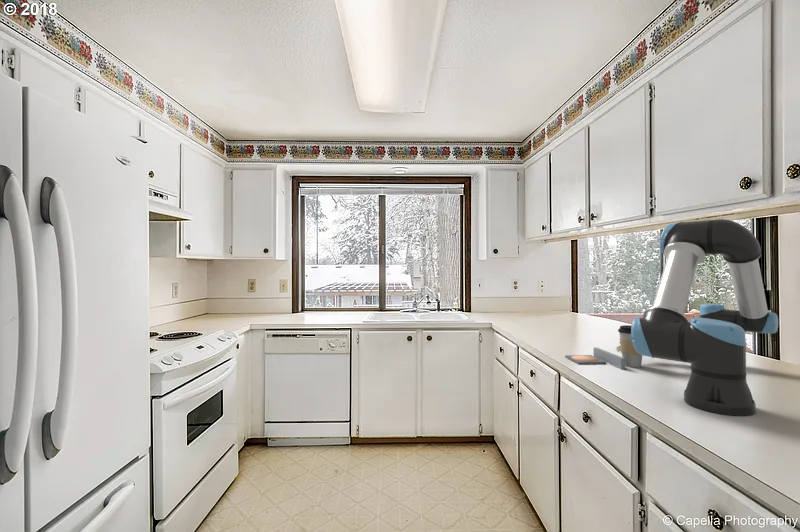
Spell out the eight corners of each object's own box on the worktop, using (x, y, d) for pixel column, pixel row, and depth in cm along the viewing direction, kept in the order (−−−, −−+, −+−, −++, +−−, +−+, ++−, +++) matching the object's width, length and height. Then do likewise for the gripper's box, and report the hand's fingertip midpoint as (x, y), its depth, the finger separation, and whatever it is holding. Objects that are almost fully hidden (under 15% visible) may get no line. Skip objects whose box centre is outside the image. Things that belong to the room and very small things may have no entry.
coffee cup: (623, 361, 155) (623, 324, 155) (650, 365, 148) (650, 326, 148) (614, 365, 149) (613, 326, 149) (641, 370, 142) (641, 329, 142)
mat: (606, 364, 151) (606, 361, 151) (578, 364, 151) (578, 362, 151) (590, 356, 163) (590, 354, 163) (565, 357, 163) (564, 355, 163)
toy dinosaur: (616, 354, 172) (633, 356, 169) (617, 346, 172) (634, 348, 169) (614, 343, 192) (629, 345, 189) (614, 337, 192) (629, 338, 189)
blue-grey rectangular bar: (625, 369, 143) (625, 358, 143) (621, 369, 143) (621, 358, 143) (597, 356, 163) (597, 347, 163) (593, 356, 163) (593, 347, 163)
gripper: (713, 362, 137) (654, 362, 136) (664, 347, 162) (614, 348, 161) (713, 340, 137) (654, 341, 136) (664, 329, 162) (614, 330, 161)
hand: (632, 345), depth 149 cm, fingers open, 13 cm apart
